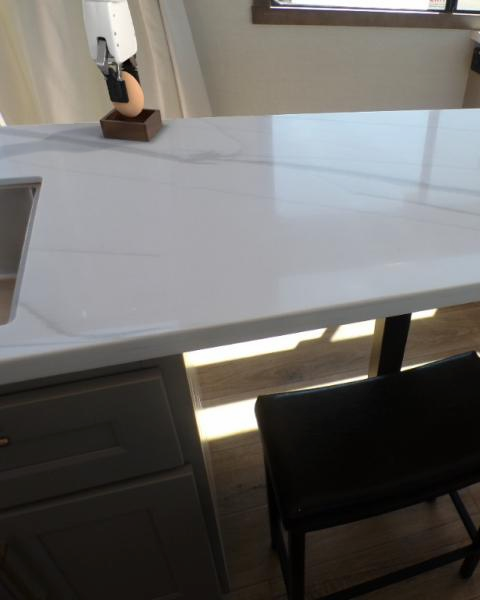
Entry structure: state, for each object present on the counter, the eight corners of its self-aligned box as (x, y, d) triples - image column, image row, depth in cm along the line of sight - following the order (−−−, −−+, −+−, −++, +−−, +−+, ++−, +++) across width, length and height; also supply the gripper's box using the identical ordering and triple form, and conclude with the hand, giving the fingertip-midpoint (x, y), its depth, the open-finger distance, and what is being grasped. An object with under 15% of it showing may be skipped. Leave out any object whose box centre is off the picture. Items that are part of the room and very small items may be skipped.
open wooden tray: (103, 137, 100) (99, 120, 98) (120, 122, 106) (116, 105, 104) (149, 141, 100) (145, 124, 98) (162, 126, 107) (159, 109, 105)
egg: (140, 122, 99) (131, 77, 94) (109, 119, 99) (98, 73, 94) (152, 112, 104) (143, 69, 99) (122, 110, 104) (112, 65, 98)
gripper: (100, -22, 94) (123, 81, 106) (55, -7, 81) (86, 109, 92) (143, -17, 95) (161, 85, 106) (105, -2, 82) (130, 113, 93)
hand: (126, 95), depth 99 cm, fingers closed on egg, 5 cm apart
